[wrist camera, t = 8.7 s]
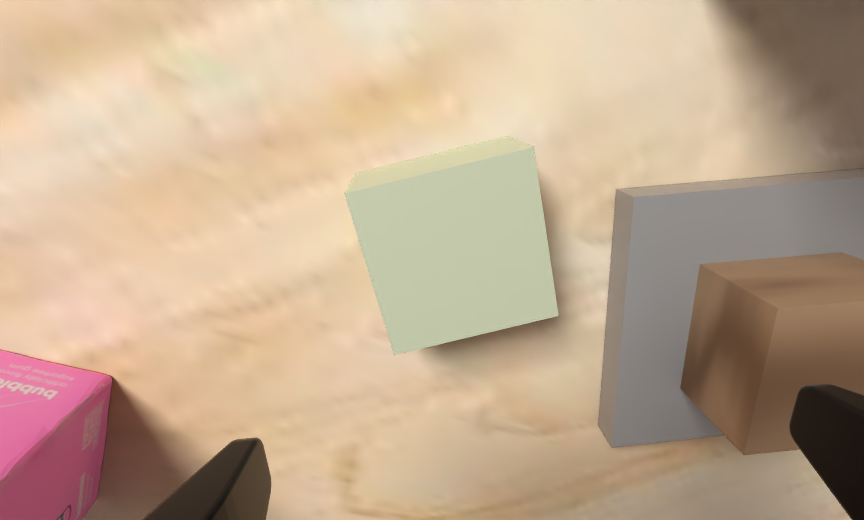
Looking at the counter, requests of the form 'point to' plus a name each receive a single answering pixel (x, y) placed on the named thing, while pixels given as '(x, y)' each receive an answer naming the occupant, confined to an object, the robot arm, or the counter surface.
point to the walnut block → (772, 341)
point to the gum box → (50, 438)
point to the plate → (678, 272)
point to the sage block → (455, 243)
